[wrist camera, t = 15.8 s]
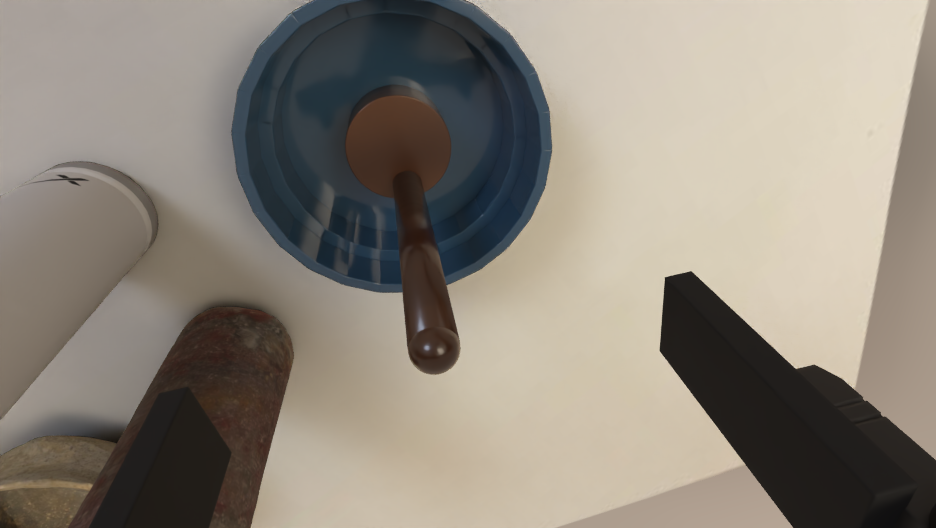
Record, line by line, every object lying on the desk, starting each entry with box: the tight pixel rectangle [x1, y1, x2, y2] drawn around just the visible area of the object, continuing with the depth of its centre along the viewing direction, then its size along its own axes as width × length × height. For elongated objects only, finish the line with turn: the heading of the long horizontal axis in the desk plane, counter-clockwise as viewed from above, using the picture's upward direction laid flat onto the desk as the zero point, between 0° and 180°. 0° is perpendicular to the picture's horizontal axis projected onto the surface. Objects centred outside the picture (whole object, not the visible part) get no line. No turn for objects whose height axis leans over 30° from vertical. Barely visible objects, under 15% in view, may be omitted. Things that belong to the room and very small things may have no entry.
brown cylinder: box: [68, 307, 294, 528], centre depth 25 cm, size 8×7×20 cm
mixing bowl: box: [231, 0, 552, 293], centre depth 26 cm, size 15×15×6 cm
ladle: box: [345, 85, 460, 375], centre depth 21 cm, size 6×6×18 cm
